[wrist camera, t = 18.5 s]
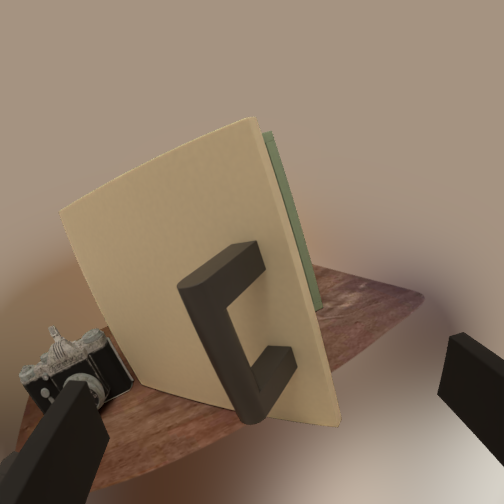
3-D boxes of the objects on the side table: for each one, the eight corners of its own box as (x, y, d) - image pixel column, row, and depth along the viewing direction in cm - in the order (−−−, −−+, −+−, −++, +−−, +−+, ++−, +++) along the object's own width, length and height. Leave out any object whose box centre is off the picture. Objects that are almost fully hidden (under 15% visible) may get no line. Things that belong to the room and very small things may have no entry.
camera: (49, 441, 29) (3, 380, 26) (50, 414, 35) (12, 358, 32) (141, 398, 35) (102, 332, 33) (132, 375, 41) (98, 315, 38)
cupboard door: (310, 485, 19) (173, 126, 12) (111, 412, 33) (14, 231, 27) (342, 419, 24) (256, 116, 17) (146, 380, 39) (64, 208, 32)
